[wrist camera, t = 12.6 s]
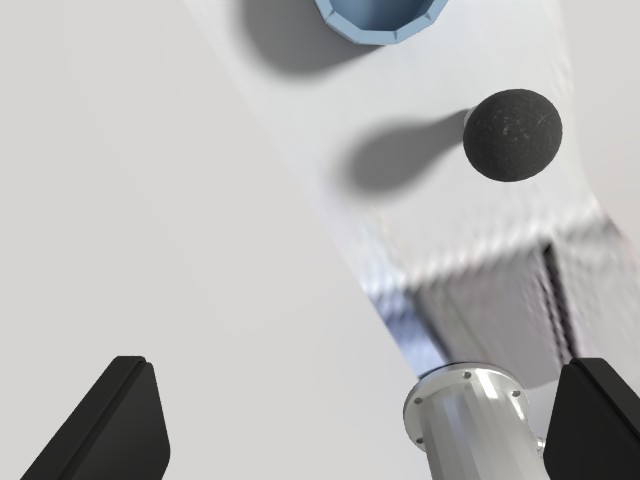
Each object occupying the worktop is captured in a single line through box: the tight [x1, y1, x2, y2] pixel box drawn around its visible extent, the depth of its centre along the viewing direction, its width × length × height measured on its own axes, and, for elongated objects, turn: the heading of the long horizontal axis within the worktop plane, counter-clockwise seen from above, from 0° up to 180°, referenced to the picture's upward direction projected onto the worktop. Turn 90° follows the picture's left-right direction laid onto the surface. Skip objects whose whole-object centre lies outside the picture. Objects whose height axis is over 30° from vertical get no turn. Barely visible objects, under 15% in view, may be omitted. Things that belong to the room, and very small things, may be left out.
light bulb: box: [463, 89, 562, 182], centre depth 29 cm, size 6×6×10 cm
